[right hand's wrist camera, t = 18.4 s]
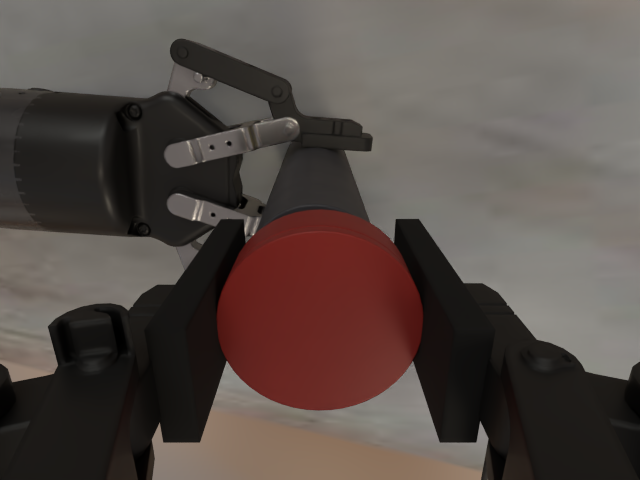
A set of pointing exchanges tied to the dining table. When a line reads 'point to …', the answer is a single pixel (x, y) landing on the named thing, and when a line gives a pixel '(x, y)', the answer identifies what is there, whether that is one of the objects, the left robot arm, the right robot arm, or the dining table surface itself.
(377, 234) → the lid
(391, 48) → the dining table surface
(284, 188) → the dark grey cylinder
